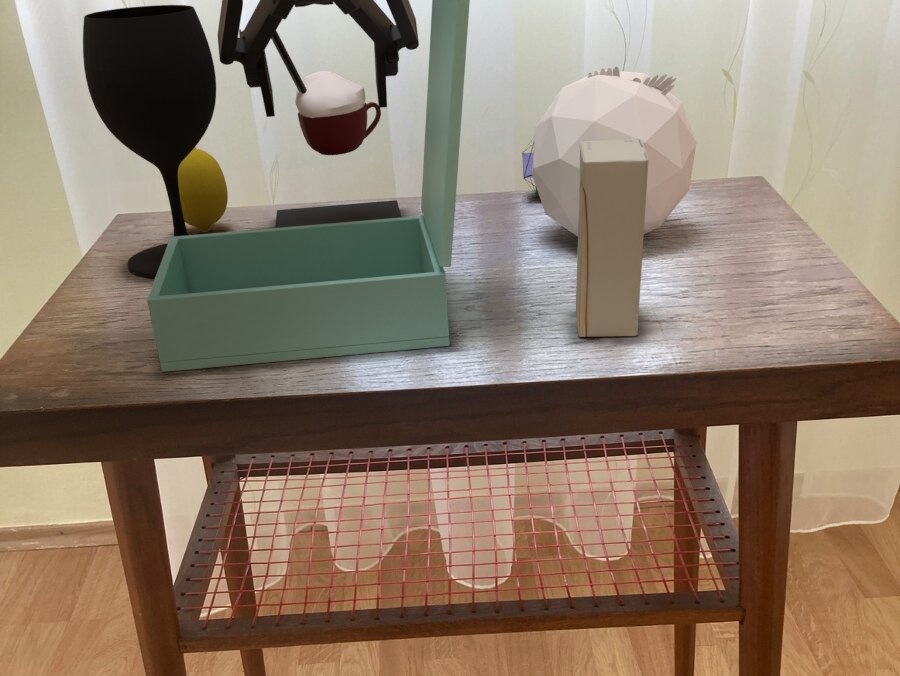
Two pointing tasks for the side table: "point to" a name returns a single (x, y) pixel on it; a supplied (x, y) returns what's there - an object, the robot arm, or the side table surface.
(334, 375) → the side table surface
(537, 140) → the geodesic sphere
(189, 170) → the lemon
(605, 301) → the cosmetic box
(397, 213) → the mat
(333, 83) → the cocoa
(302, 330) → the teal open box
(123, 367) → the side table surface
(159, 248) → the wine glass
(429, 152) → the lid
